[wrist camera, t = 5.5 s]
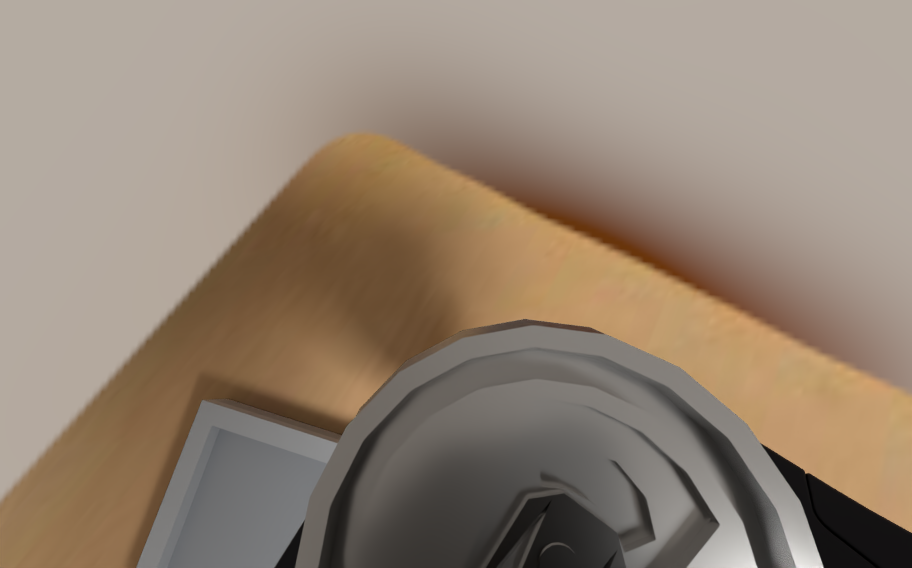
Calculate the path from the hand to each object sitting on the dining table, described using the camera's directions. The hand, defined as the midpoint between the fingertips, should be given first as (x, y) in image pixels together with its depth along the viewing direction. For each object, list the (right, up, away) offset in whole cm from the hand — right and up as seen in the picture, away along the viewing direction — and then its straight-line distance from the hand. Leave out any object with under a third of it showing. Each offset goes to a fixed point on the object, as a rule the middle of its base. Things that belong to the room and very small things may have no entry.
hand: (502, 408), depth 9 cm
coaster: (-10, -9, +12) cm, 18 cm away
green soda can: (+1, -3, +6) cm, 7 cm away
